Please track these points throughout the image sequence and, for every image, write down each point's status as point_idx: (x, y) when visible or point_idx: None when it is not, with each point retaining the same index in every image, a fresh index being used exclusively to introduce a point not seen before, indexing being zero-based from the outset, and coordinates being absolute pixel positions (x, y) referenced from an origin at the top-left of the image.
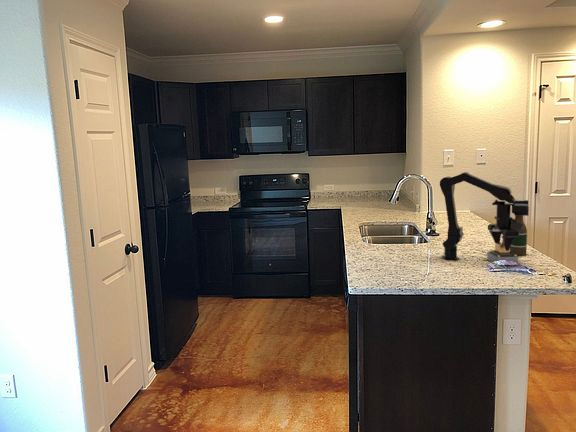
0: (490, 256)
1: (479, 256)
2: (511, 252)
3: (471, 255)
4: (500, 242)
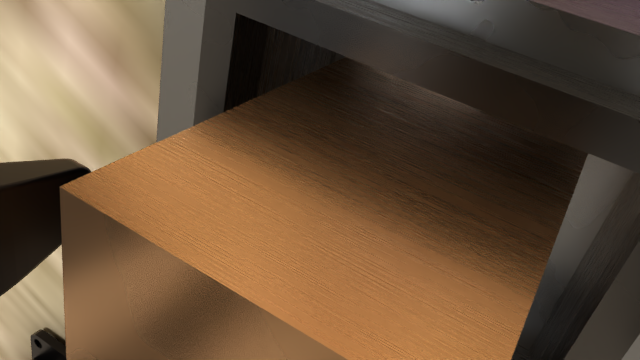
0: None
1: (63, 119)
2: (550, 117)
3: (17, 157)
4: (67, 334)
